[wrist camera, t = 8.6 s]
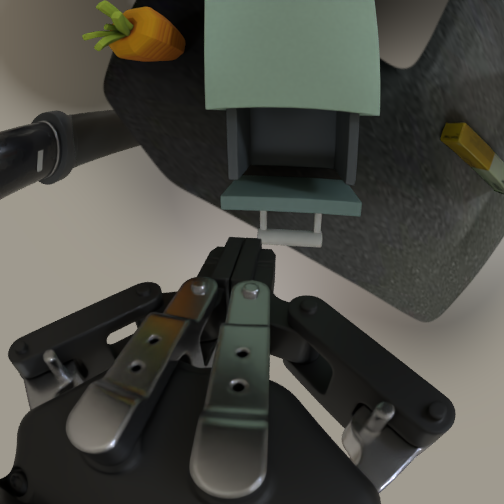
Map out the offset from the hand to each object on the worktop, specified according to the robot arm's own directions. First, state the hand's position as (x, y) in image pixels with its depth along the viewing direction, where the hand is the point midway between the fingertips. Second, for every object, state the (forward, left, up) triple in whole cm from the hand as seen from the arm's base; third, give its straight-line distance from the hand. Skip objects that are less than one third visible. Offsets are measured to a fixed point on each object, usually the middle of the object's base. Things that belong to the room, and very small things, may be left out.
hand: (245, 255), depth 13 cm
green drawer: (+2, +3, -17) cm, 18 cm away
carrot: (-10, +15, -18) cm, 26 cm away
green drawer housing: (+2, +14, -18) cm, 23 cm away
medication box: (+25, +5, -18) cm, 31 cm away
